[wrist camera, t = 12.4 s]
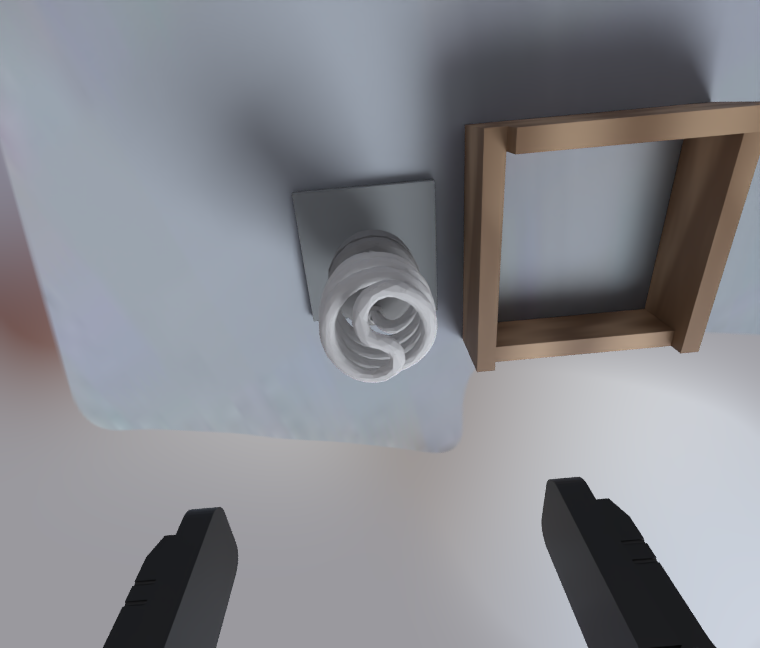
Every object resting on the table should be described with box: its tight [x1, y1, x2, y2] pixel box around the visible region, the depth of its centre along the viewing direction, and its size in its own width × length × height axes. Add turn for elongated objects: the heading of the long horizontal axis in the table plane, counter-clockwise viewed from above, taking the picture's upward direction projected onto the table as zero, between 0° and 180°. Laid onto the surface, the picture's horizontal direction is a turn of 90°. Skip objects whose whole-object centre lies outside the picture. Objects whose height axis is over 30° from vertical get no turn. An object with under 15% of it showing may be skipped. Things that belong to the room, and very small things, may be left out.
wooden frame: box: [463, 102, 760, 372], centre depth 26 cm, size 15×15×6 cm
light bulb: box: [319, 230, 437, 383], centre depth 23 cm, size 6×6×12 cm
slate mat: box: [292, 179, 437, 321], centre depth 29 cm, size 9×9×1 cm
